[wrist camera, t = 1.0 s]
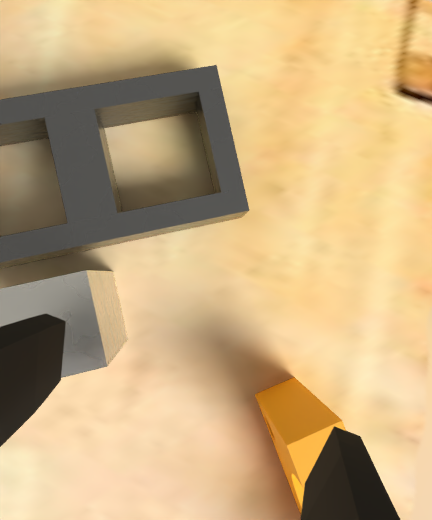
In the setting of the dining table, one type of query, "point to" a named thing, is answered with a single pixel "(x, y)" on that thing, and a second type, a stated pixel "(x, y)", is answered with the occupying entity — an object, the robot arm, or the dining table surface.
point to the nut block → (73, 315)
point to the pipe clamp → (296, 429)
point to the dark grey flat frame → (100, 166)
